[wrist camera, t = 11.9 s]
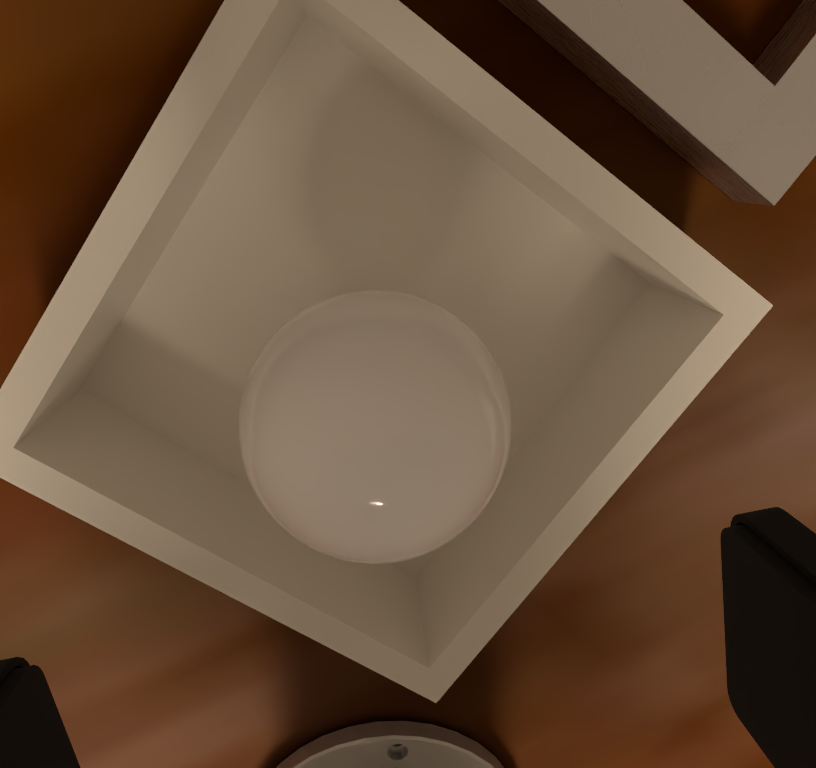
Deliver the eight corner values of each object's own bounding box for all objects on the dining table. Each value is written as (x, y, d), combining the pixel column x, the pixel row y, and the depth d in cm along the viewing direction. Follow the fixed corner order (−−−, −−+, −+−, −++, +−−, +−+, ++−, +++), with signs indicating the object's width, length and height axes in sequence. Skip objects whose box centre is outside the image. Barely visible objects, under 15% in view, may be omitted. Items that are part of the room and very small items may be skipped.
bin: (676, 271, 25) (773, 305, 19) (418, 593, 28) (436, 703, 23) (298, -30, 21) (279, -97, 15) (50, 386, 24) (-40, 457, 19)
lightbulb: (299, 222, 22) (258, 284, 12) (483, 276, 23) (592, 377, 13) (254, 400, 24) (184, 590, 14) (427, 443, 25) (483, 649, 15)
